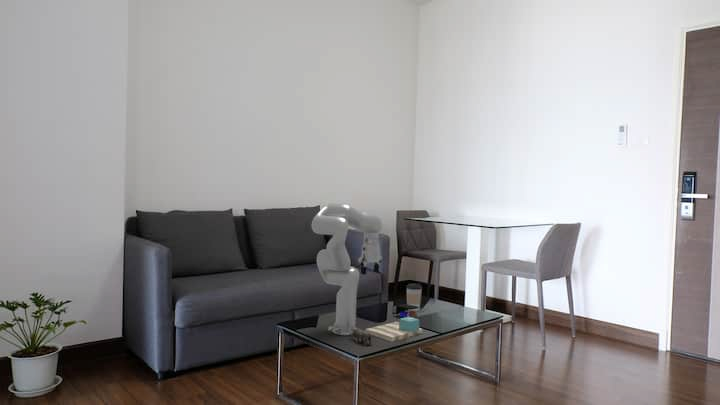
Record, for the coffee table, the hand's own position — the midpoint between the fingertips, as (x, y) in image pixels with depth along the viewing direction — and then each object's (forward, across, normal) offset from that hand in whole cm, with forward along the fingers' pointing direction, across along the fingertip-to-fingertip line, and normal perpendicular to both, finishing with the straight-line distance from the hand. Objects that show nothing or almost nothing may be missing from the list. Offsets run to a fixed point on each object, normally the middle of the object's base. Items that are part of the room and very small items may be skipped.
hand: (369, 273), depth 270 cm
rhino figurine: (+25, -32, -26) cm, 48 cm away
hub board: (+24, -9, -26) cm, 37 cm away
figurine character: (+25, +18, -10) cm, 32 cm away
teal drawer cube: (+22, -4, -31) cm, 38 cm away
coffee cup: (+24, +36, -1) cm, 44 cm away
